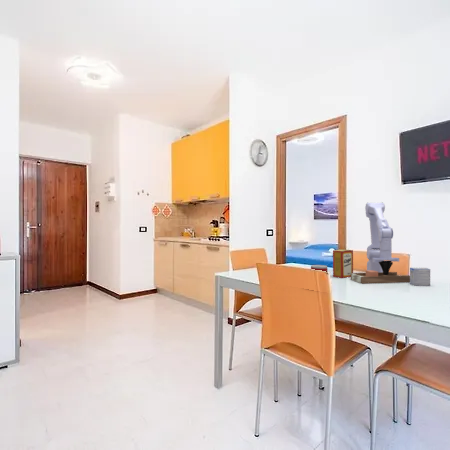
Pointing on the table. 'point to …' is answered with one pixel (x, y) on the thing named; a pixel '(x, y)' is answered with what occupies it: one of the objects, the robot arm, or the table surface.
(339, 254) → the baking soda box
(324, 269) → the canned food
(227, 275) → the table surface
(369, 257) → the robot arm
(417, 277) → the medicine box
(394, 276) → the wooden frame
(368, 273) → the block
